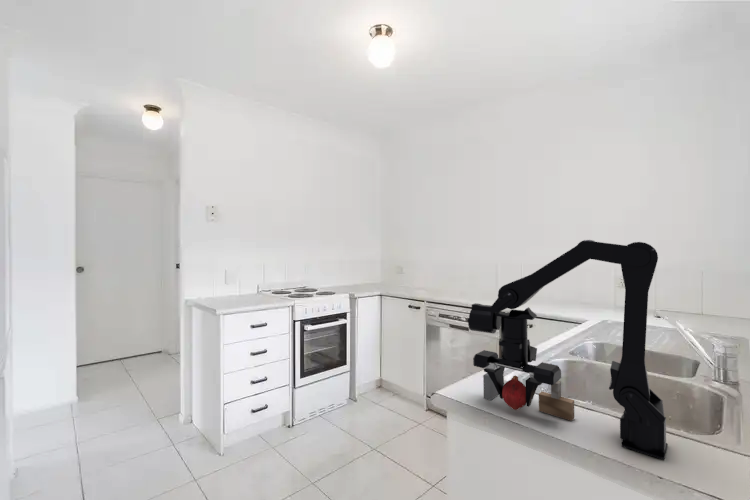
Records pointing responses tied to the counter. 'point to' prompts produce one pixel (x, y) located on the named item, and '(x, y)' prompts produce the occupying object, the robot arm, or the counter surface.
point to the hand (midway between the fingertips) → (515, 402)
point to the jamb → (489, 388)
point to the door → (556, 403)
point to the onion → (514, 393)
